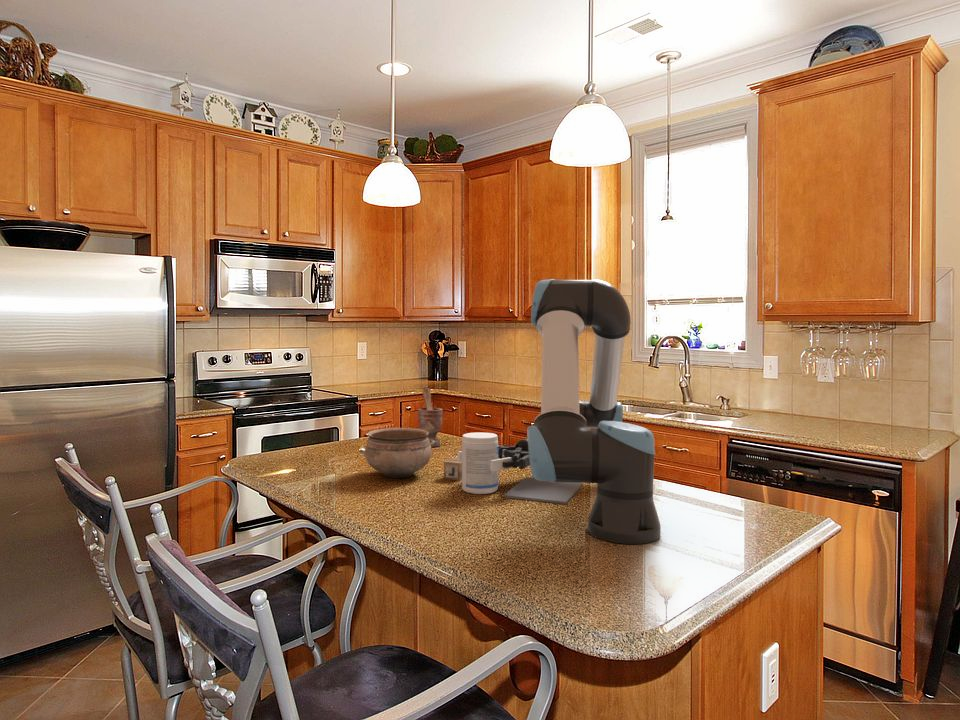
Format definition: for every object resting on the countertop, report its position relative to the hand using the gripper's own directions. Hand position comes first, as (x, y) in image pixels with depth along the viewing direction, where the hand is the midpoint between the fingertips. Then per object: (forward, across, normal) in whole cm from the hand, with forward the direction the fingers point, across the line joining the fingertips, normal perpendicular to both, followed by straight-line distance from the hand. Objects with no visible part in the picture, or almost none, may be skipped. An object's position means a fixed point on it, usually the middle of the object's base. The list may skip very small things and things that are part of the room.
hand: (474, 461), depth 169 cm
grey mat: (-15, -11, -8) cm, 20 cm away
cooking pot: (+7, +26, -8) cm, 28 cm away
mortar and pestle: (-26, +58, -8) cm, 64 cm away
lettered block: (-5, +14, -8) cm, 17 cm away
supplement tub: (-2, 0, -8) cm, 8 cm away
